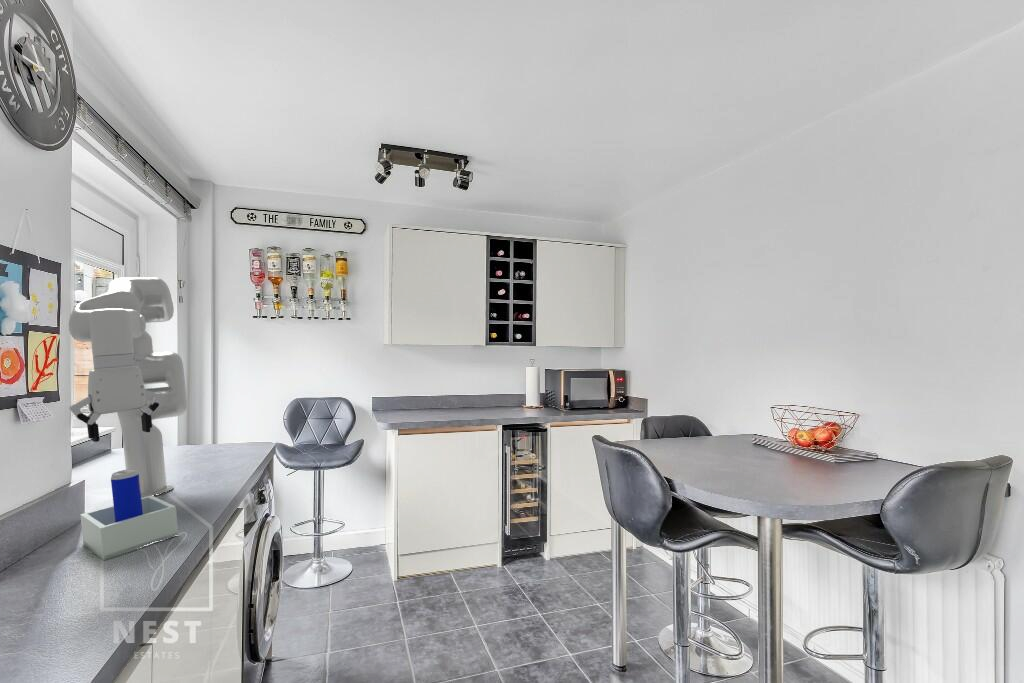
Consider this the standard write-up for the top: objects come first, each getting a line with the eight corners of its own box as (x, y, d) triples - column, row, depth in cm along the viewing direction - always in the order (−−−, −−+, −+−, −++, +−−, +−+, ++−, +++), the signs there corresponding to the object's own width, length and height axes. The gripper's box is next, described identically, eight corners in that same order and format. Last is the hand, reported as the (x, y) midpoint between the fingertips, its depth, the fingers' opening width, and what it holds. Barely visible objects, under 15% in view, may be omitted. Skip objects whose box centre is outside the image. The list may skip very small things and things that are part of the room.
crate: (83, 544, 117) (80, 514, 117) (154, 522, 128) (151, 495, 128) (103, 560, 107) (100, 528, 107) (178, 535, 118) (175, 506, 118)
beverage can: (150, 531, 119) (143, 468, 119) (127, 541, 114) (120, 476, 114) (134, 529, 121) (128, 468, 120) (111, 539, 116) (104, 475, 115)
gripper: (152, 358, 125) (159, 427, 126) (61, 366, 112) (69, 443, 112) (164, 358, 121) (170, 429, 122) (69, 367, 107) (78, 447, 108)
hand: (121, 436), depth 117 cm, fingers open, 9 cm apart
